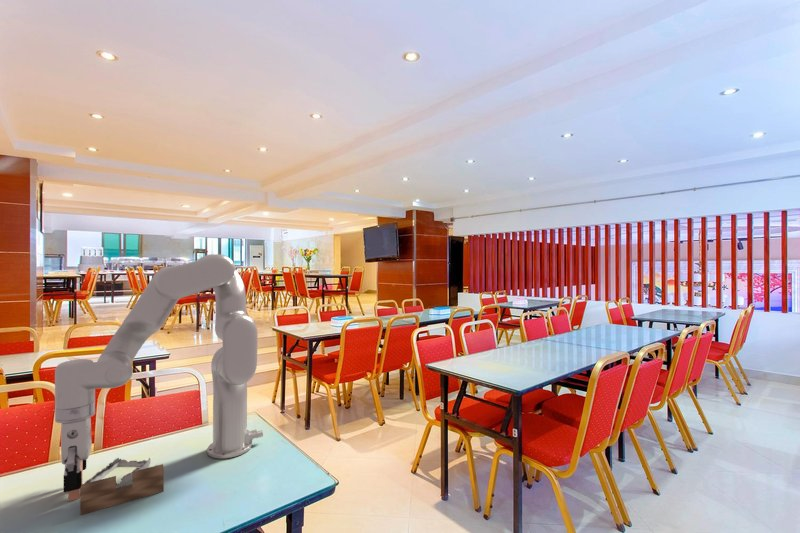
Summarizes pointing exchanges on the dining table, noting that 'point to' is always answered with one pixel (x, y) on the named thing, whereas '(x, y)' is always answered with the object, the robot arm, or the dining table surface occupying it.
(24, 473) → the dining table surface
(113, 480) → the walnut base board
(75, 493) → the terracotta board
